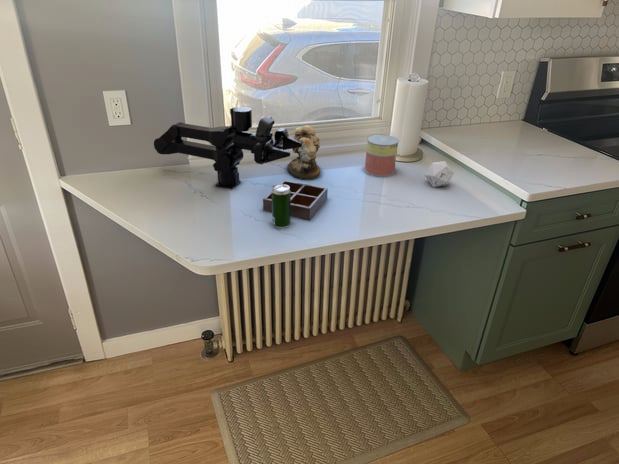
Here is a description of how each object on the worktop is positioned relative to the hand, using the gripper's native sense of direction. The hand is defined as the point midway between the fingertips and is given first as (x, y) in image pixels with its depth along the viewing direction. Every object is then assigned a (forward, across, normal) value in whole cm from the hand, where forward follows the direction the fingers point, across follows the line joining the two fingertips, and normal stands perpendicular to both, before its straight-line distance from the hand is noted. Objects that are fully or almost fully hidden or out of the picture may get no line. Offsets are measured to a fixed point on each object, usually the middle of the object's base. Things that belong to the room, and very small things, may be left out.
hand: (296, 149), depth 144 cm
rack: (+2, -5, +17) cm, 17 cm away
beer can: (+4, -18, +17) cm, 25 cm away
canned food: (+20, +34, +16) cm, 43 cm away
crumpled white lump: (+42, +31, +16) cm, 54 cm away
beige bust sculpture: (-6, +22, +17) cm, 29 cm away
